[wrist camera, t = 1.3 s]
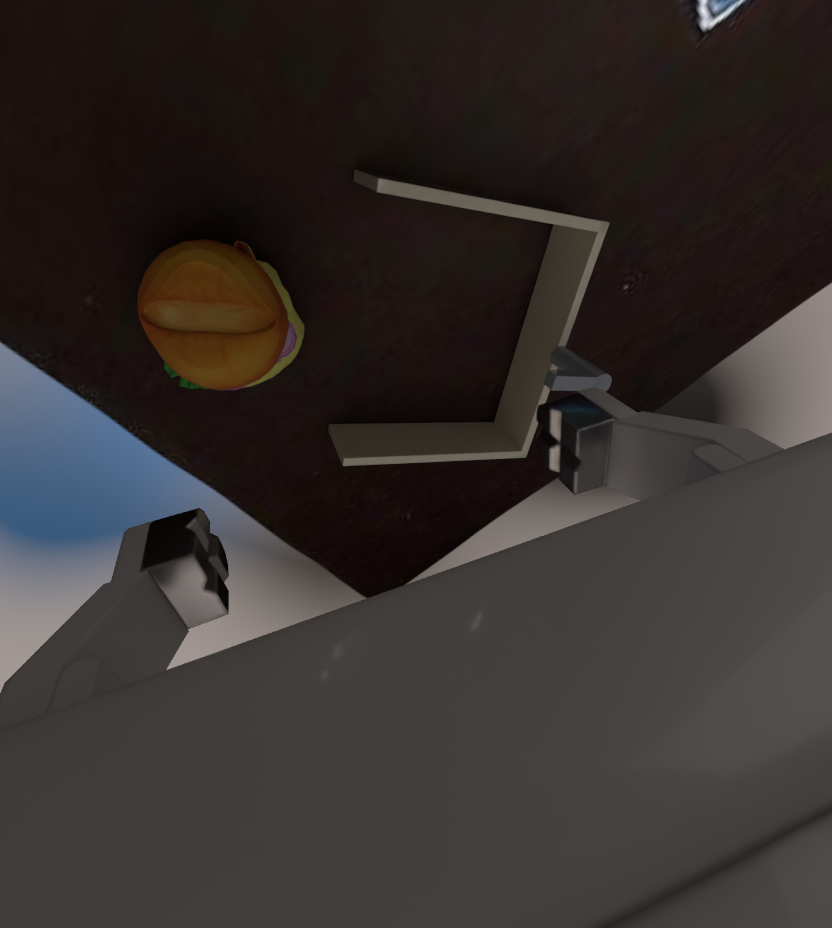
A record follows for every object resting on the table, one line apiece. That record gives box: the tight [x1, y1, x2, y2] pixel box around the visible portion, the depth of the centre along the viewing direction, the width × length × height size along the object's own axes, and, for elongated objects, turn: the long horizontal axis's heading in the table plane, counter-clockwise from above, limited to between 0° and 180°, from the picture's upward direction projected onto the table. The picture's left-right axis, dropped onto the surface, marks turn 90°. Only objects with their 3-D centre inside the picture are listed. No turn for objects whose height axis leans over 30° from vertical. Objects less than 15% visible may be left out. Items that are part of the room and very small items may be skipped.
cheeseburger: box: [137, 239, 304, 391], centre depth 34 cm, size 10×11×10 cm
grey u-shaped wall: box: [328, 169, 612, 466], centre depth 40 cm, size 19×22×12 cm
